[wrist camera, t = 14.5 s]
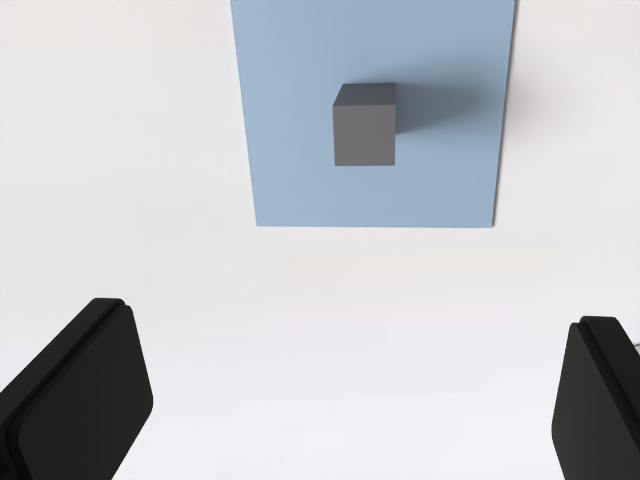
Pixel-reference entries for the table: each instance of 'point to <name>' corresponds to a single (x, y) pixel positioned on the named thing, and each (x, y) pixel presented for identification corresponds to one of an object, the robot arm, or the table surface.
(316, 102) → the lid
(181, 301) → the table surface
